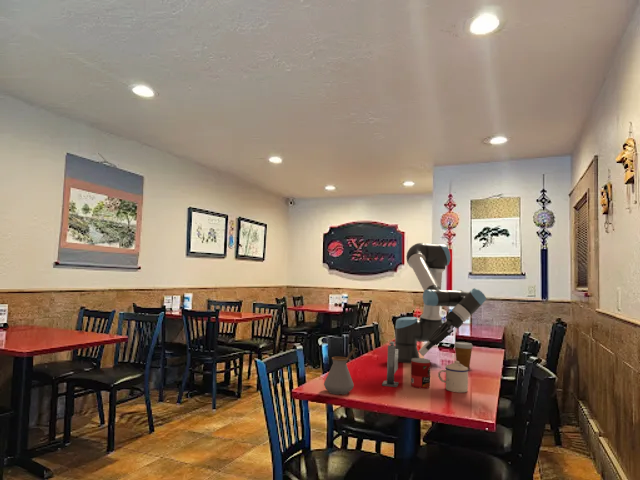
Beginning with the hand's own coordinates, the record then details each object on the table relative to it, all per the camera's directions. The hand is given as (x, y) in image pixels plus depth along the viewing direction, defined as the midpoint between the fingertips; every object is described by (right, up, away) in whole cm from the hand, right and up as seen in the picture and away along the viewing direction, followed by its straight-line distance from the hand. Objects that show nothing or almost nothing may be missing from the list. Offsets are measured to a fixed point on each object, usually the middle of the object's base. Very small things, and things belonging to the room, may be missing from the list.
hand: (420, 353), depth 196 cm
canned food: (-3, -11, -12) cm, 17 cm away
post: (-15, -10, -12) cm, 22 cm away
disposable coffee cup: (+30, -16, +36) cm, 49 cm away
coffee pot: (-35, -9, -22) cm, 43 cm away
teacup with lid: (+10, -11, -15) cm, 21 cm away
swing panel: (-13, -8, -2) cm, 15 cm away
